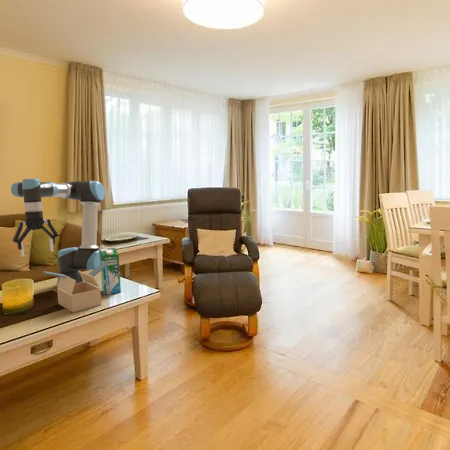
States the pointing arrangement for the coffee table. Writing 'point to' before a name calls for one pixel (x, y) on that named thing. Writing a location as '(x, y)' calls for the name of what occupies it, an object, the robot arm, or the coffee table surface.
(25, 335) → the coffee table surface
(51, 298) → the coffee table surface
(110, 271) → the milk carton
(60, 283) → the flap
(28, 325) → the coffee table surface
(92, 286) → the carton box
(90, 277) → the flap
